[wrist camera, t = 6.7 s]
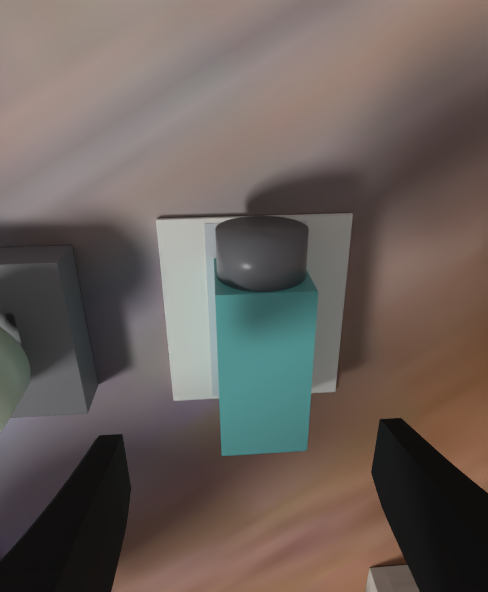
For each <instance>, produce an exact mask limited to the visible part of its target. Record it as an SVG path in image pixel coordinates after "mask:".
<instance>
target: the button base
mask: <svg viewBox="0 0 488 592" xmlns="http://www.w3.org/2000/svg"><path fill="white" fill-rule="evenodd" d="M0 327H1V328H3V329H4V330H5V331H7V332H8V333H9V334H10V335H11V336H13V337H14V338H15V339H16V341H17V342H18V343H19V344H20V345H21V347H22V348H23V350H24V352H25V354H26V355H27V358H28V361H29V364H30V374H31V376H30V382H29V385H28V388H27V390H26V391H25V393H24V395H23V396H22V398H21V400H20V401H19V403H18V405H17V406H16V408H15V410H14V411H13V413H12V415H11V417H10V418H16V417H34V416H51V415H69V414H87V413H88V411H89V409H90V406H91V403H92V400H93V398H94V395H95V392H96V390H97V387H98V382H97V377H96V372H95V366H94V361H93V355H92V350H91V345H90V339H89V334H88V328H87V323H86V318H85V312H84V307H83V302H82V296H81V291H80V285H79V280H78V275H77V269H76V264H75V258H74V253H73V248H72V245H59V246H28V247H0Z"/></svg>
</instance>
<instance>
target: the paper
mask: <svg viewBox="0 0 488 592" xmlns="http://www.w3.org/2000/svg"><path fill="white" fill-rule="evenodd" d="M265 216H276V217H284V218H290V219H294V220H297V221H300V222H302V223H304V224H305V225H307V226H308V228H309V233H308V250H307V268H306V270H307V271H308V273H309V275H310V277H311V279H312V281H313V282H314V284H315V286H316V288H317V290H318V304H317V318H316V332H315V346H314V360H313V374H312V388H311V393H324V392H335V390H336V380H337V370H338V360H339V350H340V339H341V329H342V319H343V309H344V299H345V289H346V279H347V269H348V259H349V249H350V239H351V229H352V219H353V214H352V213H335V214H300V215H265ZM239 217H247V216H229V217H194V218H159V219H156V225H157V235H158V246H159V256H160V266H161V277H162V287H163V297H164V308H165V318H166V328H167V339H168V349H169V359H170V370H171V380H172V390H173V401H179V400H197V399H215V398H219V379H218V355H217V330H216V305H215V279H214V259H216V235H215V228H216V226H217V225H218V224H220V223H222V222H224V221H226V220H230V219H234V218H239Z"/></svg>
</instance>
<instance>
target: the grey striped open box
mask: <svg viewBox="0 0 488 592" xmlns="http://www.w3.org/2000/svg"><path fill="white" fill-rule="evenodd" d="M365 592H419V589H418V587H417V585H416V583H415V580H414V578H413V576H412V574H411V571H410V569H409V567H408V565H399V566H386V567H374V568H369V574H368V579H367V585H366V590H365Z"/></svg>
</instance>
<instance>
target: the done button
mask: <svg viewBox="0 0 488 592" xmlns="http://www.w3.org/2000/svg"><path fill="white" fill-rule="evenodd" d="M30 376H31V374H30V364H29V361H28V358H27V355H26V354H25V352H24V350H23V348H22V347H21V345H20V344H19V343H18V342H17V341H16V339H15V338H14V337H13V336H11V335H10V334H9V333H8V332H7V331H5V330H4V329H3V328H1V327H0V432H1V431H2V430H3V428H4V427H5V425H6V423H7V422H8V420H9V418H10V417H11V415H12V413H13V411H14V410H15V408H16V406H17V405H18V403H19V401H20V400H21V398H22V396H23V395H24V393H25V391H26V390H27V388H28V385H29V382H30Z"/></svg>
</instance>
